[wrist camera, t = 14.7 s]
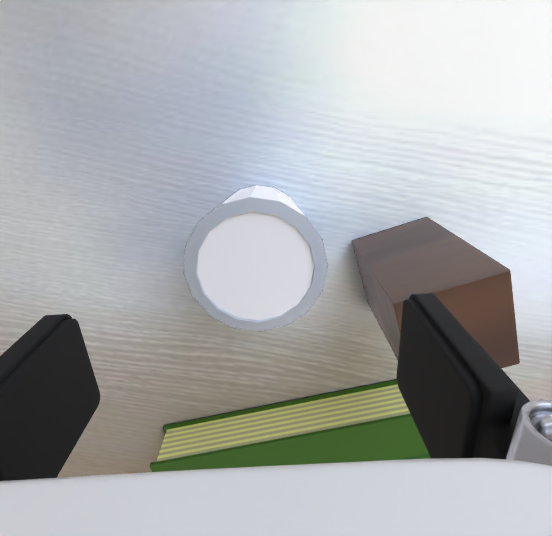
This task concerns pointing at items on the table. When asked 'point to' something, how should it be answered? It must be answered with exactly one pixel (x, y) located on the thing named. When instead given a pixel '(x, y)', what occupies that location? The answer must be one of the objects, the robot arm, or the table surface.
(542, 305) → the table surface
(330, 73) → the table surface
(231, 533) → the robot arm
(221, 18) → the table surface
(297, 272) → the white cup
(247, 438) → the hardcover book
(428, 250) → the walnut block
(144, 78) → the table surface
